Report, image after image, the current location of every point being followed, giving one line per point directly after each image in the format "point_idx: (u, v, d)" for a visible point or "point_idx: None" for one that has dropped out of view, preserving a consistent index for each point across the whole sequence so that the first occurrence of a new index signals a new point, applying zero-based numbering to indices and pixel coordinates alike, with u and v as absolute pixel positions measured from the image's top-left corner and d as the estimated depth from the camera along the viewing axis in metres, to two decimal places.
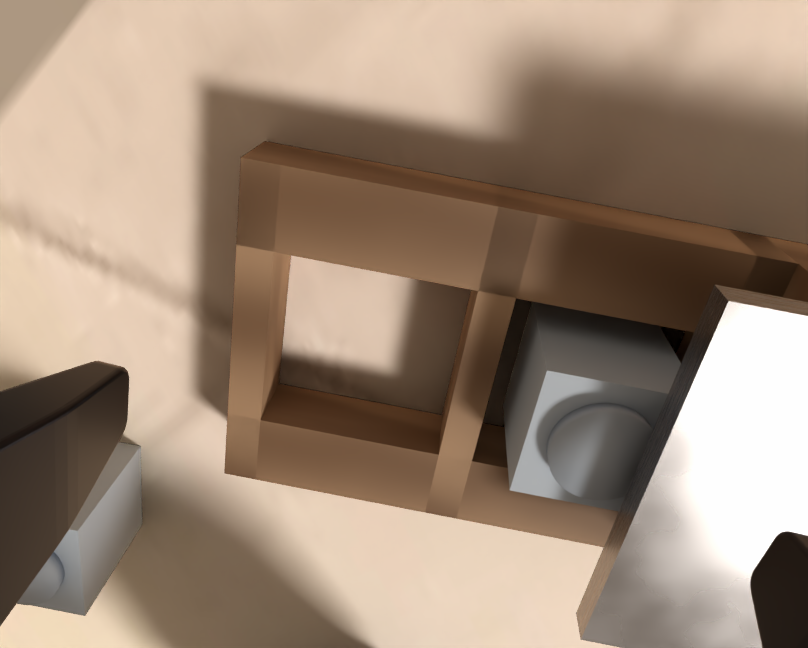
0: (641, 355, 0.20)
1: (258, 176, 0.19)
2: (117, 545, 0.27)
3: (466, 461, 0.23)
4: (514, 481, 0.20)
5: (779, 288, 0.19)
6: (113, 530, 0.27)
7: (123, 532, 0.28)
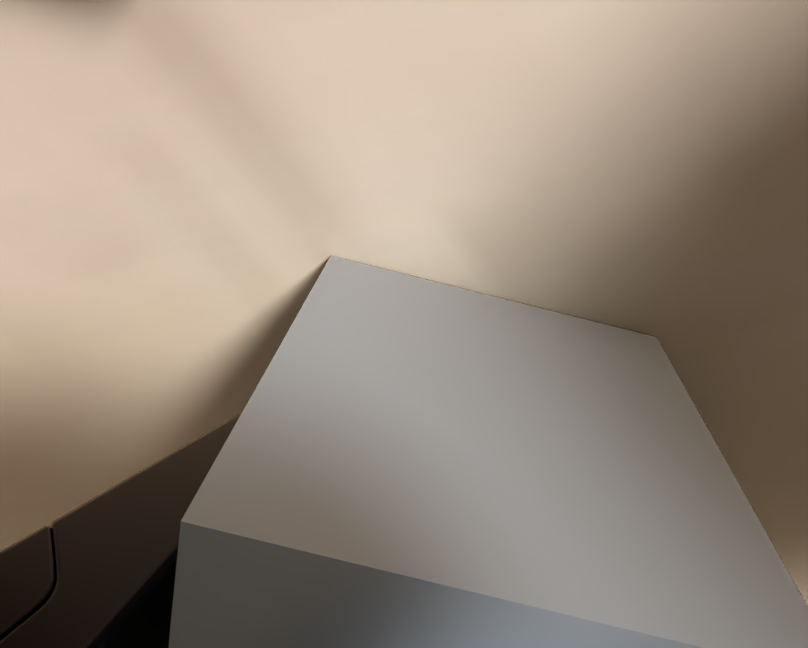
0: None
1: None
2: (615, 416, 0.07)
3: None
4: None
5: None
6: (518, 403, 0.06)
7: (590, 385, 0.07)
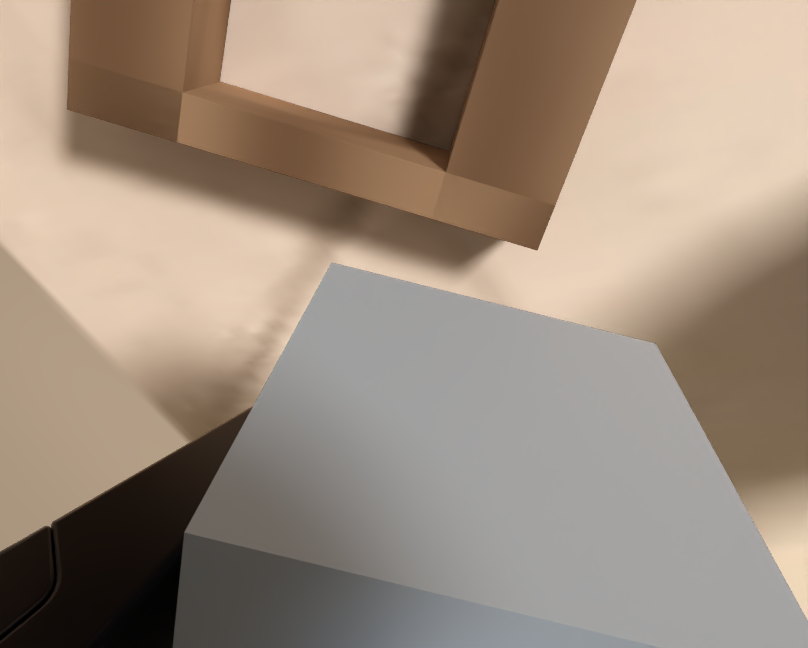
0: None
1: (86, 91, 0.16)
2: (614, 425, 0.07)
3: None
4: None
5: None
6: (517, 411, 0.06)
7: (590, 393, 0.07)
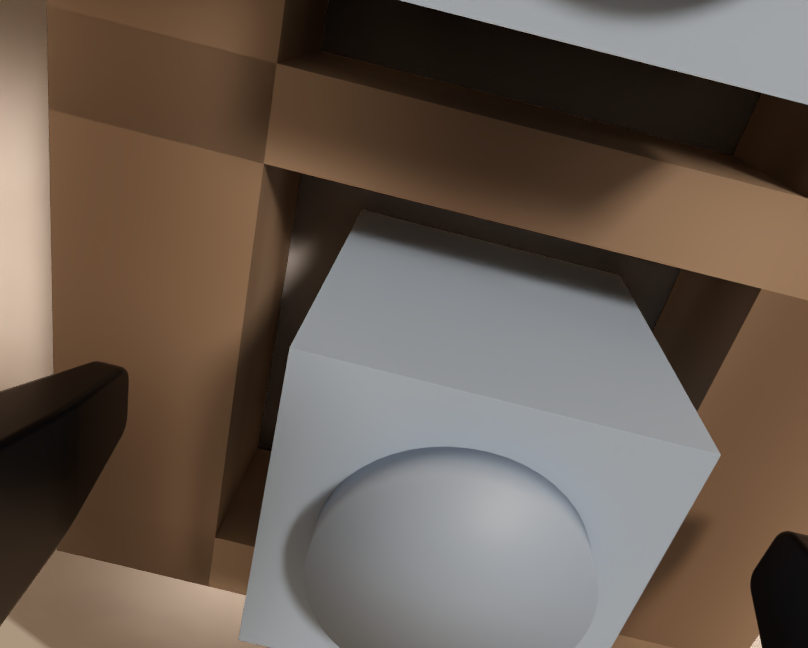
0: None
1: (82, 533, 0.11)
2: (581, 318, 0.09)
3: (805, 214, 0.08)
4: None
5: None
6: (508, 305, 0.09)
7: (563, 298, 0.09)
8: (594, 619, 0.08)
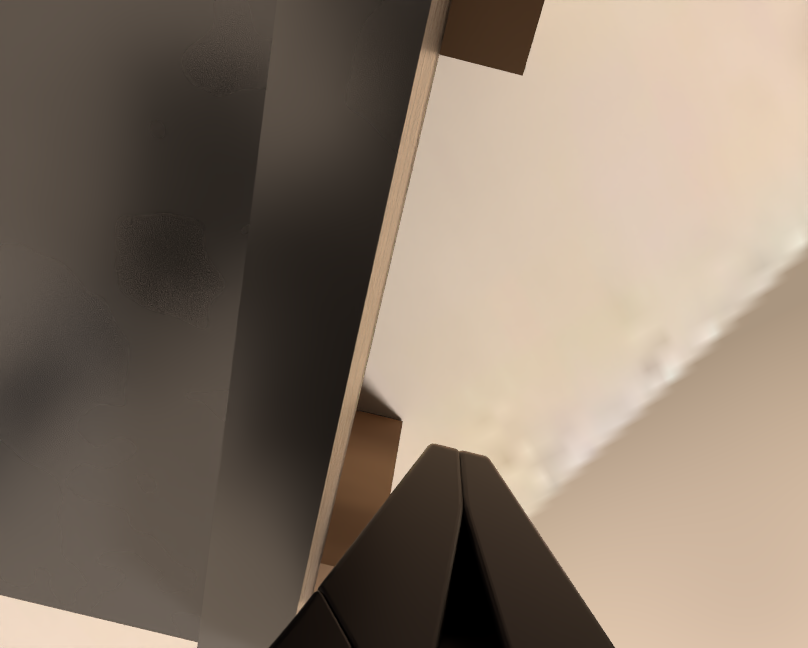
0: None
1: None
2: None
3: None
4: None
5: None
6: None
7: None
8: None
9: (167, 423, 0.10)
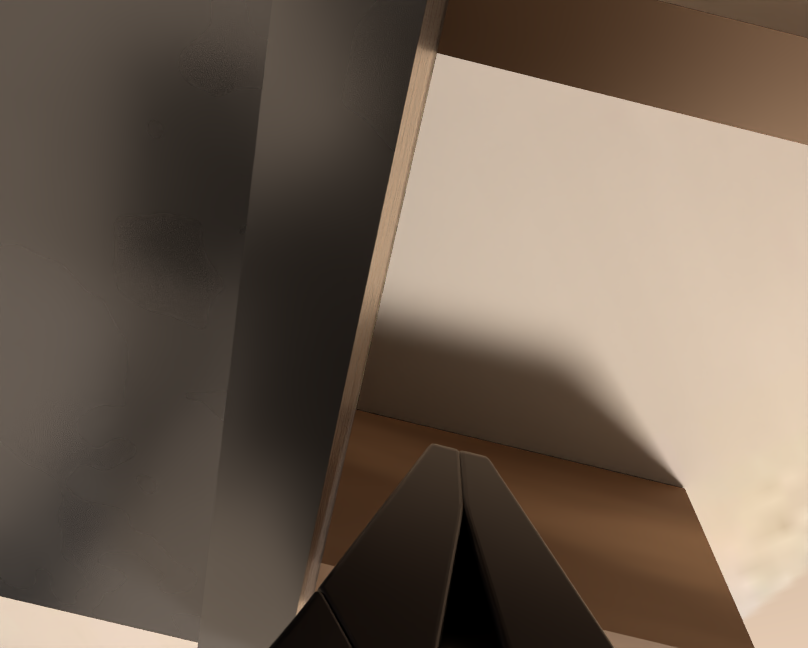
0: None
1: None
2: None
3: None
4: None
5: None
6: None
7: None
8: None
9: (167, 424, 0.10)
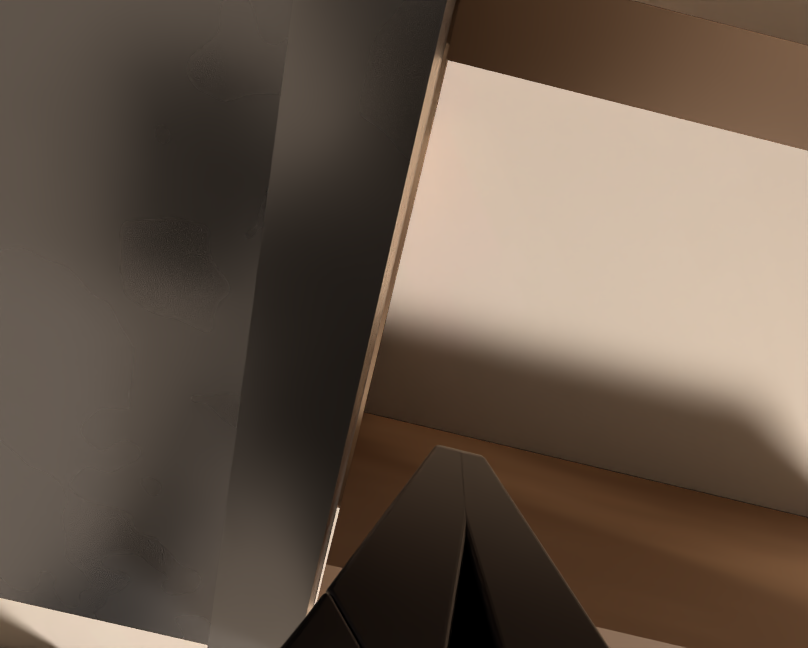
0: None
1: None
2: None
3: None
4: None
5: None
6: None
7: None
8: None
9: (172, 426, 0.10)
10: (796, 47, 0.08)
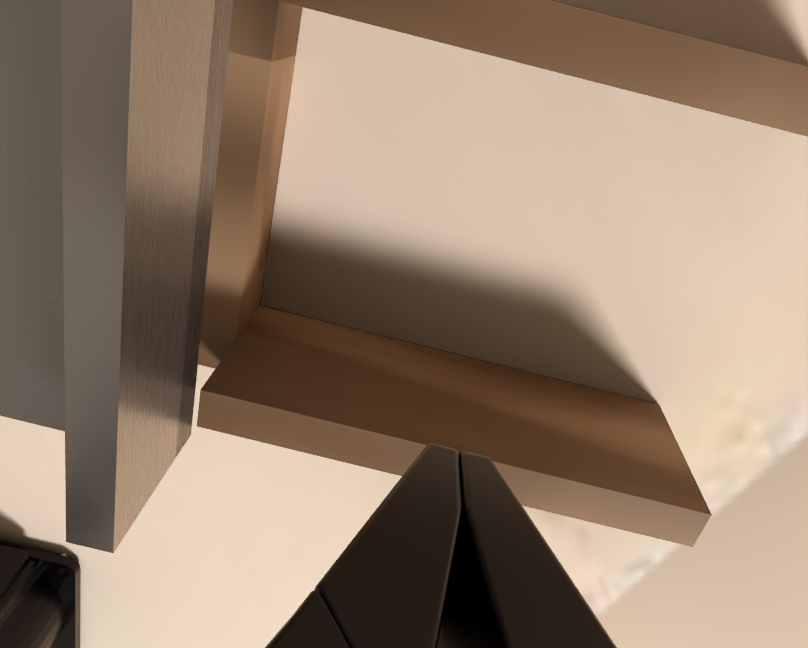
0: None
1: None
2: None
3: None
4: None
5: None
6: None
7: None
8: None
9: None
10: None
